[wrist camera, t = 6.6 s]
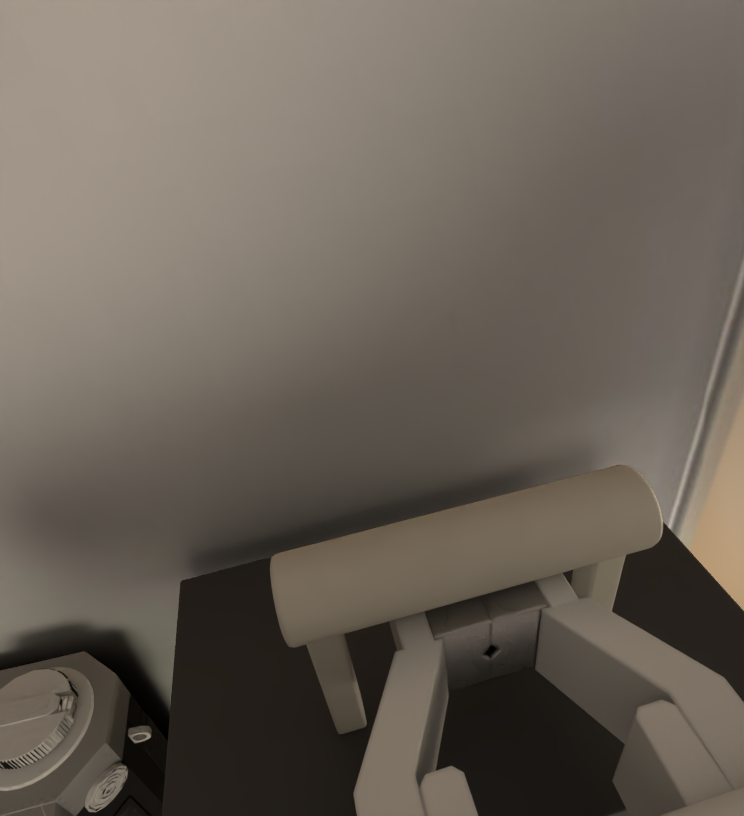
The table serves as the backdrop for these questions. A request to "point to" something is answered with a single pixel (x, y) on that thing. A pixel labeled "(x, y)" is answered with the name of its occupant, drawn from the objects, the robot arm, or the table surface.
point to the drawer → (375, 647)
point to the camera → (76, 743)
